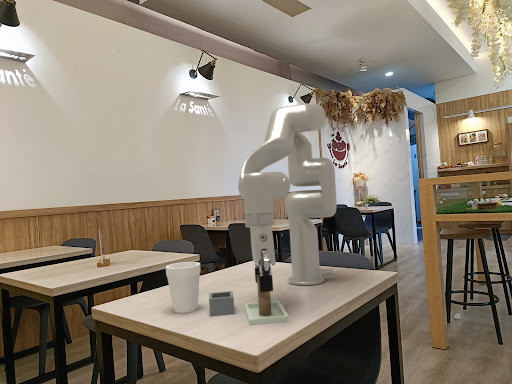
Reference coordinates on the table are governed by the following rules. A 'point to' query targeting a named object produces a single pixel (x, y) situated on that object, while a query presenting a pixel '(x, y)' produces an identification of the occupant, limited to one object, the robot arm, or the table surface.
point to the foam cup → (184, 285)
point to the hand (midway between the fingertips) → (263, 286)
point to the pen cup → (221, 303)
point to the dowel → (263, 301)
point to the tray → (276, 316)
